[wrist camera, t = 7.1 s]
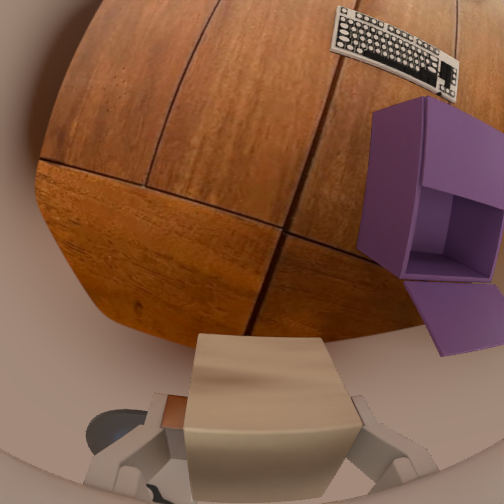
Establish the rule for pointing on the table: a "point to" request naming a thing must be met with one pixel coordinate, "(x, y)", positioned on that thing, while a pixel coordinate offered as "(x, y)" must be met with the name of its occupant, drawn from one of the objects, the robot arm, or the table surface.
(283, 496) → the block
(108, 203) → the table surface
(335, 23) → the keyboard
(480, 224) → the box
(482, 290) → the flap
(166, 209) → the table surface
